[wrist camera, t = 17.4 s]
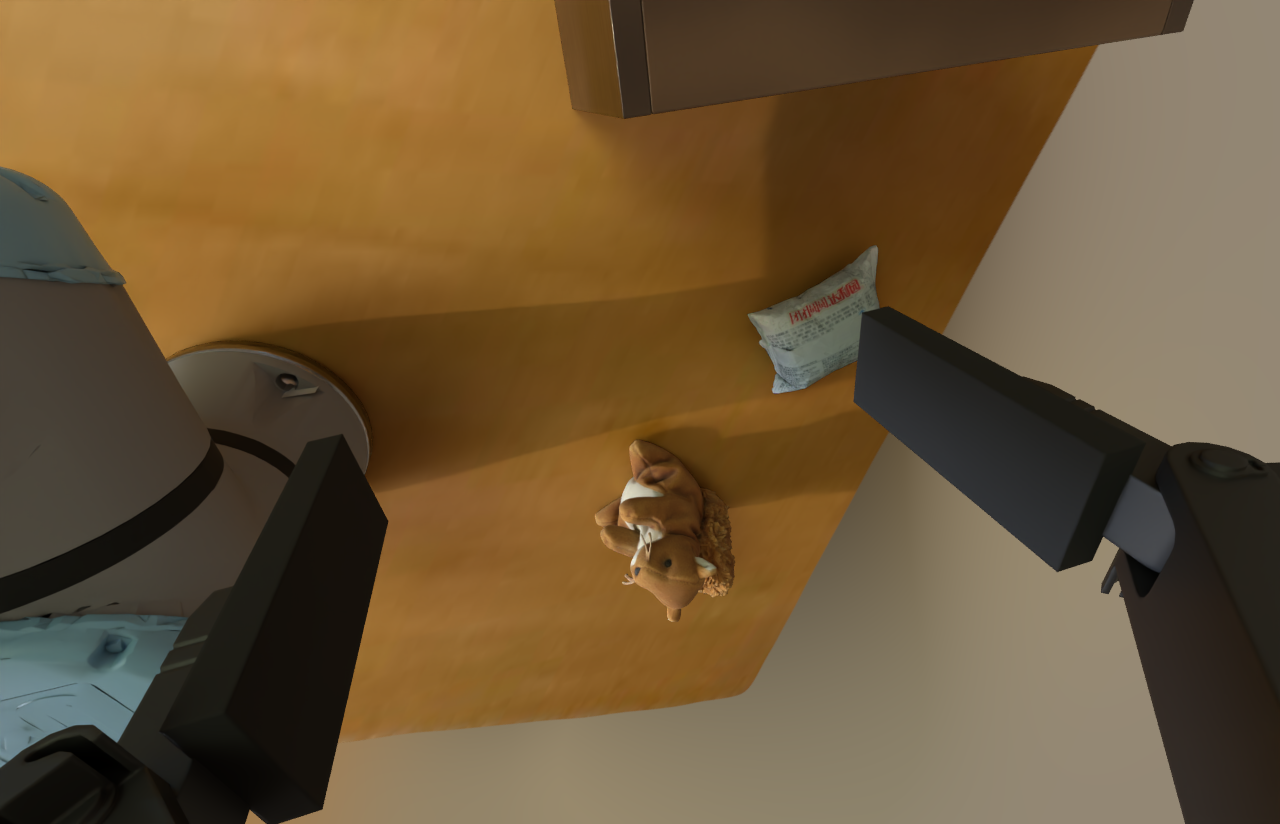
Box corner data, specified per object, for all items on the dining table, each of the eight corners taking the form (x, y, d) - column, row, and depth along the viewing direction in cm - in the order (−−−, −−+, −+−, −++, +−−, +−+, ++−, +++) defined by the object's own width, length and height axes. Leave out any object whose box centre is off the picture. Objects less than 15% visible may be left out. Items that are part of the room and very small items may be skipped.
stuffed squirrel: (628, 431, 49) (669, 530, 38) (744, 478, 55) (808, 575, 44) (576, 512, 52) (599, 625, 41) (690, 547, 58) (737, 654, 47)
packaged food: (735, 304, 45) (761, 327, 41) (863, 238, 44) (901, 254, 40) (763, 384, 50) (788, 411, 46) (878, 325, 49) (914, 346, 45)
